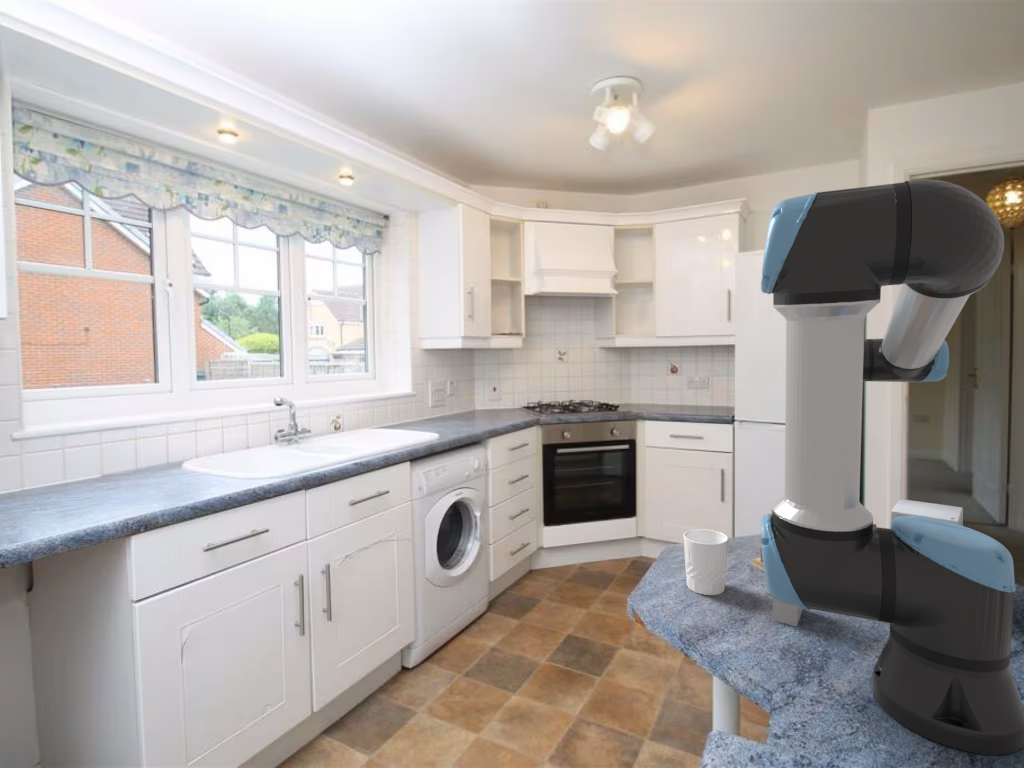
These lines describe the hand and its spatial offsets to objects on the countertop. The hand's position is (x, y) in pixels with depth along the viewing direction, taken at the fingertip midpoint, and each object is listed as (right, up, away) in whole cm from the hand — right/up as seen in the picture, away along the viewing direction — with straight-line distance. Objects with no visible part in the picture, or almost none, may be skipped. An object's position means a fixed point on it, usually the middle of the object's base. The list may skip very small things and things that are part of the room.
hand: (815, 520), depth 110 cm
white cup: (-25, -11, -8) cm, 29 cm away
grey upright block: (-15, -12, -19) cm, 27 cm away
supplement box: (+10, -10, -16) cm, 22 cm away
